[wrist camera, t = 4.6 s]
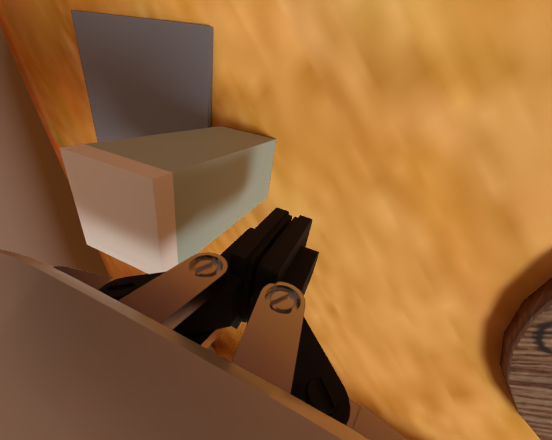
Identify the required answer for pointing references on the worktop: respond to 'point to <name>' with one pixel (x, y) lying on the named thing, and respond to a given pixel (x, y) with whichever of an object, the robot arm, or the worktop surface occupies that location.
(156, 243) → the sage block
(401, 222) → the worktop surface
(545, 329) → the trivet
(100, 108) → the charcoal mat
